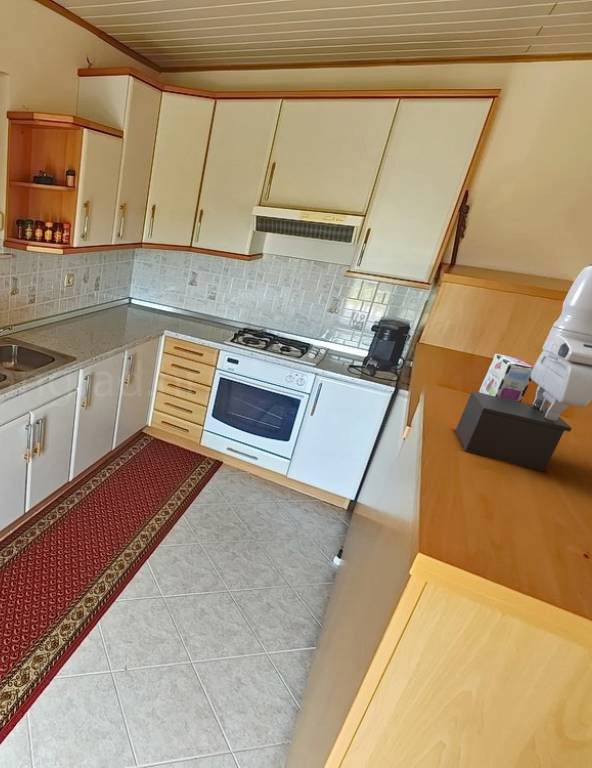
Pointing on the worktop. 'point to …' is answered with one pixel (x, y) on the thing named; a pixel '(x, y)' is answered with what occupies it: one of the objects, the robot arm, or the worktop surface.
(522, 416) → the grey lid with handle
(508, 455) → the grey hinged lid box
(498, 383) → the candy bar box
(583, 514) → the worktop surface
